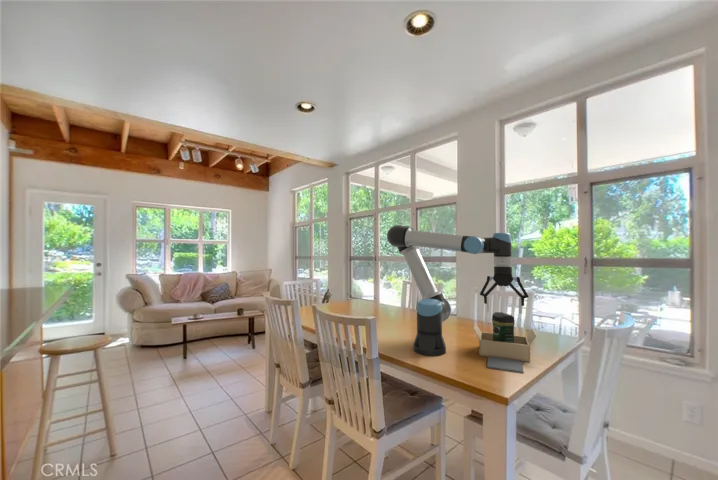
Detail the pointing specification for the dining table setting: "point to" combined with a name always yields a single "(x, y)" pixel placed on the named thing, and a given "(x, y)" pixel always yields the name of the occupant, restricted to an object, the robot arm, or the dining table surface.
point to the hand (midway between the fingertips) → (503, 312)
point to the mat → (505, 364)
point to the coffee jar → (503, 327)
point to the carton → (505, 346)
